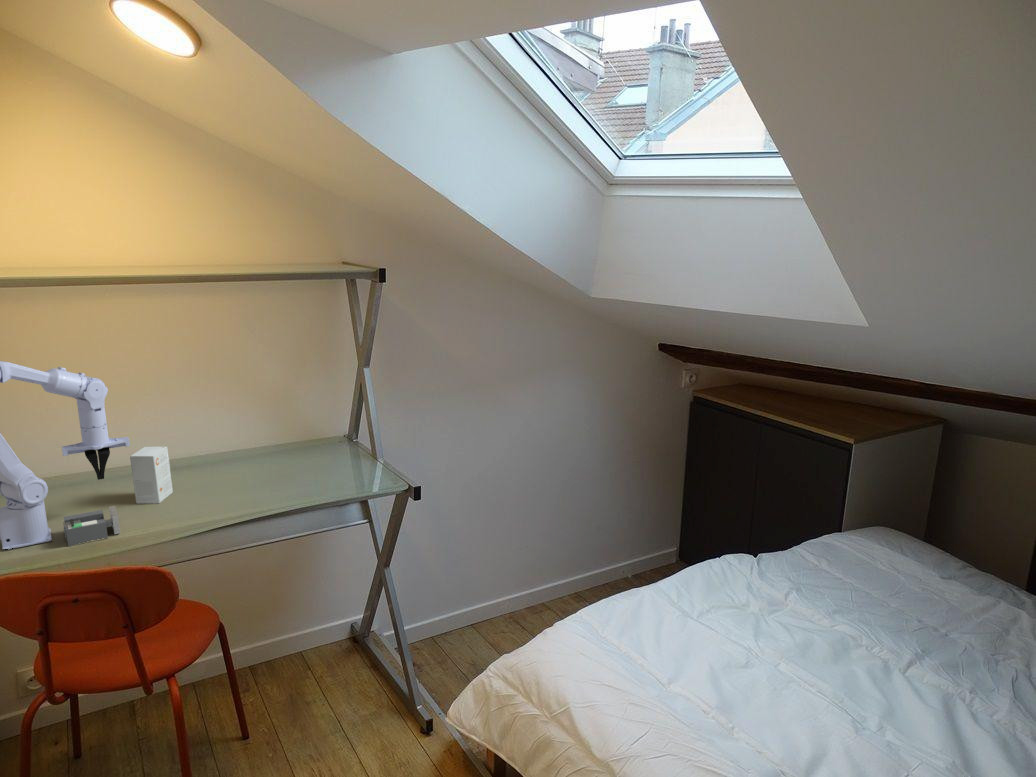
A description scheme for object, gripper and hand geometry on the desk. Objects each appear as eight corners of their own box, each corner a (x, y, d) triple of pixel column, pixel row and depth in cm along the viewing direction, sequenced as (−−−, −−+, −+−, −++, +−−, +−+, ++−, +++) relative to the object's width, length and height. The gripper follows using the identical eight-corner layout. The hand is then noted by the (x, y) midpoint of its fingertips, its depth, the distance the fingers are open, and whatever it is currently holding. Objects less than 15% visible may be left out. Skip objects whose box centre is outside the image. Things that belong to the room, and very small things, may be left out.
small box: (150, 492, 208) (144, 446, 205) (173, 492, 208) (168, 446, 205) (135, 503, 200) (129, 455, 197) (159, 503, 200) (153, 455, 197)
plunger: (66, 545, 175) (63, 526, 174) (64, 533, 181) (61, 515, 180) (120, 534, 181) (118, 516, 180) (116, 523, 187) (114, 505, 186)
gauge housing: (68, 546, 175) (65, 529, 174) (66, 532, 182) (63, 515, 181) (108, 538, 179) (105, 521, 178) (104, 525, 187) (101, 508, 186)
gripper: (60, 433, 181) (68, 488, 184) (128, 424, 189) (135, 477, 192) (58, 426, 187) (66, 480, 190) (125, 418, 195) (131, 469, 198)
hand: (100, 478), depth 192 cm, fingers closed
